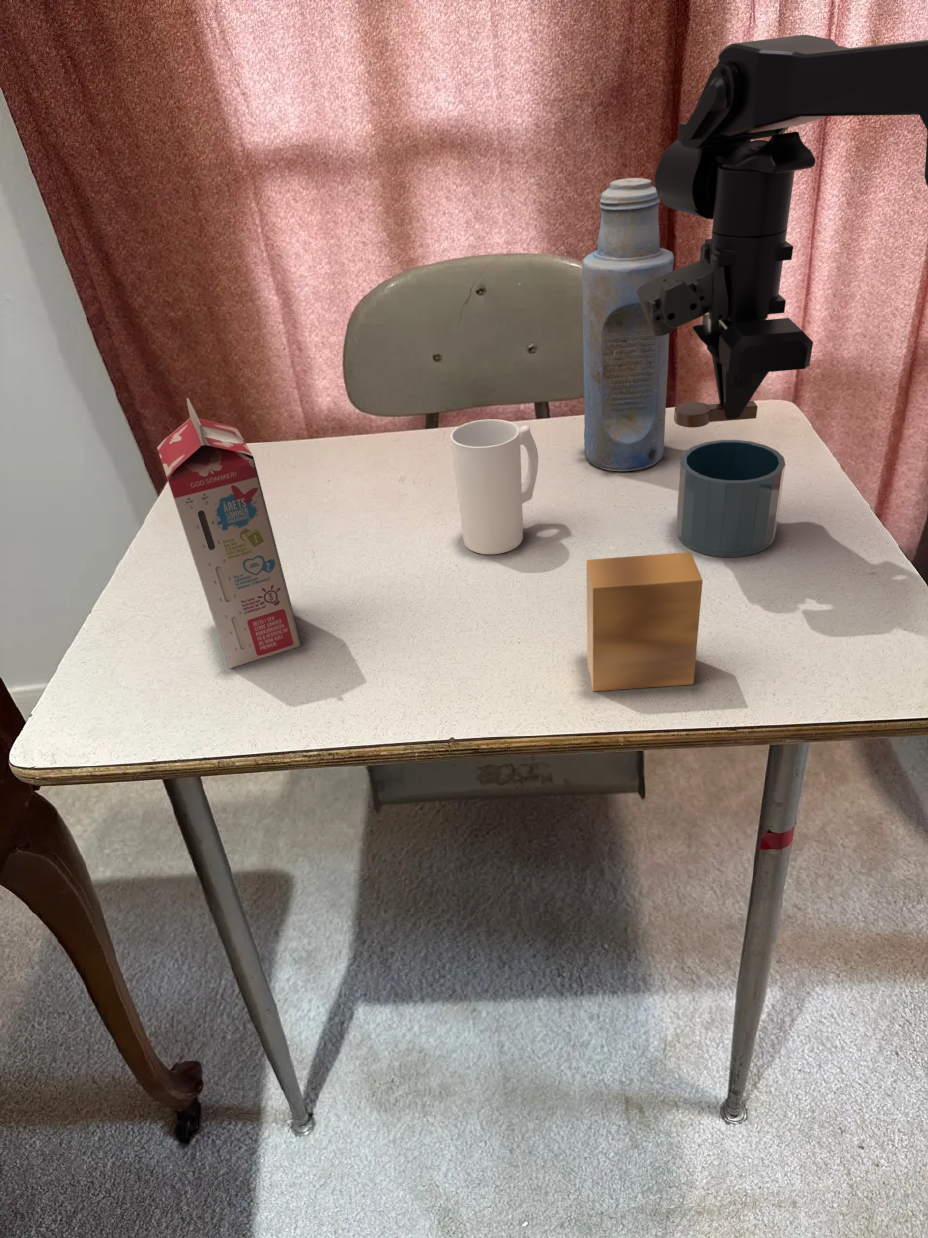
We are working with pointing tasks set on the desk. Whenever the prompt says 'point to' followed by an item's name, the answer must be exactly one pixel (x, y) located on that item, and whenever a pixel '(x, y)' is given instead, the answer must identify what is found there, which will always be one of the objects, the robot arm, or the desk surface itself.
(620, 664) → the wooden block
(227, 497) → the juice carton
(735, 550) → the crock
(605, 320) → the bottle
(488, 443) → the mug
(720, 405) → the brown disc handle
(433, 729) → the desk surface
